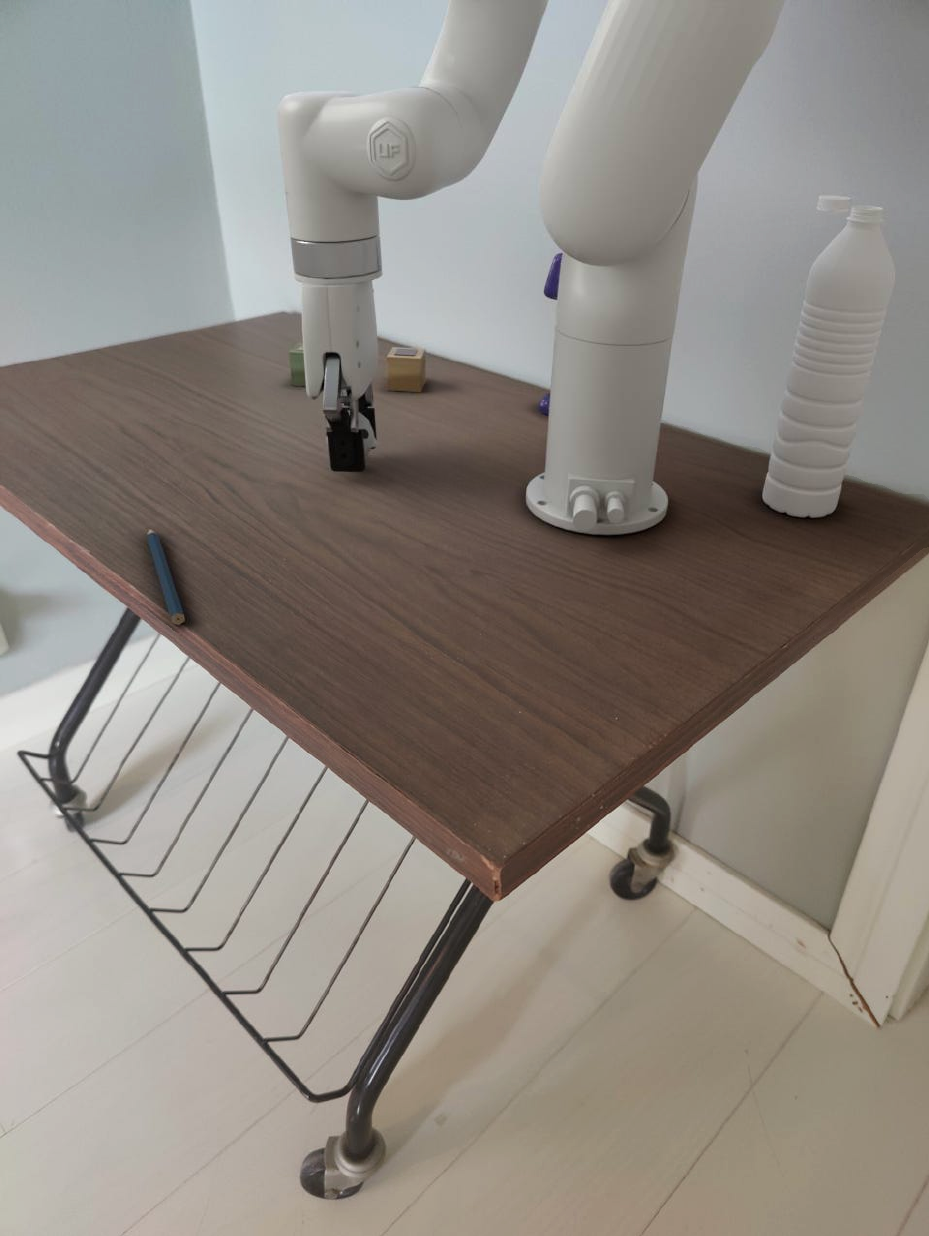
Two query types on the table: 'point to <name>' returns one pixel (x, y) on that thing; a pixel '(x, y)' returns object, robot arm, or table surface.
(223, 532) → the table surface
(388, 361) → the block row
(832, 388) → the water bottle
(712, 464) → the table surface
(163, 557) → the pencil
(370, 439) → the figurine
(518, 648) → the table surface
